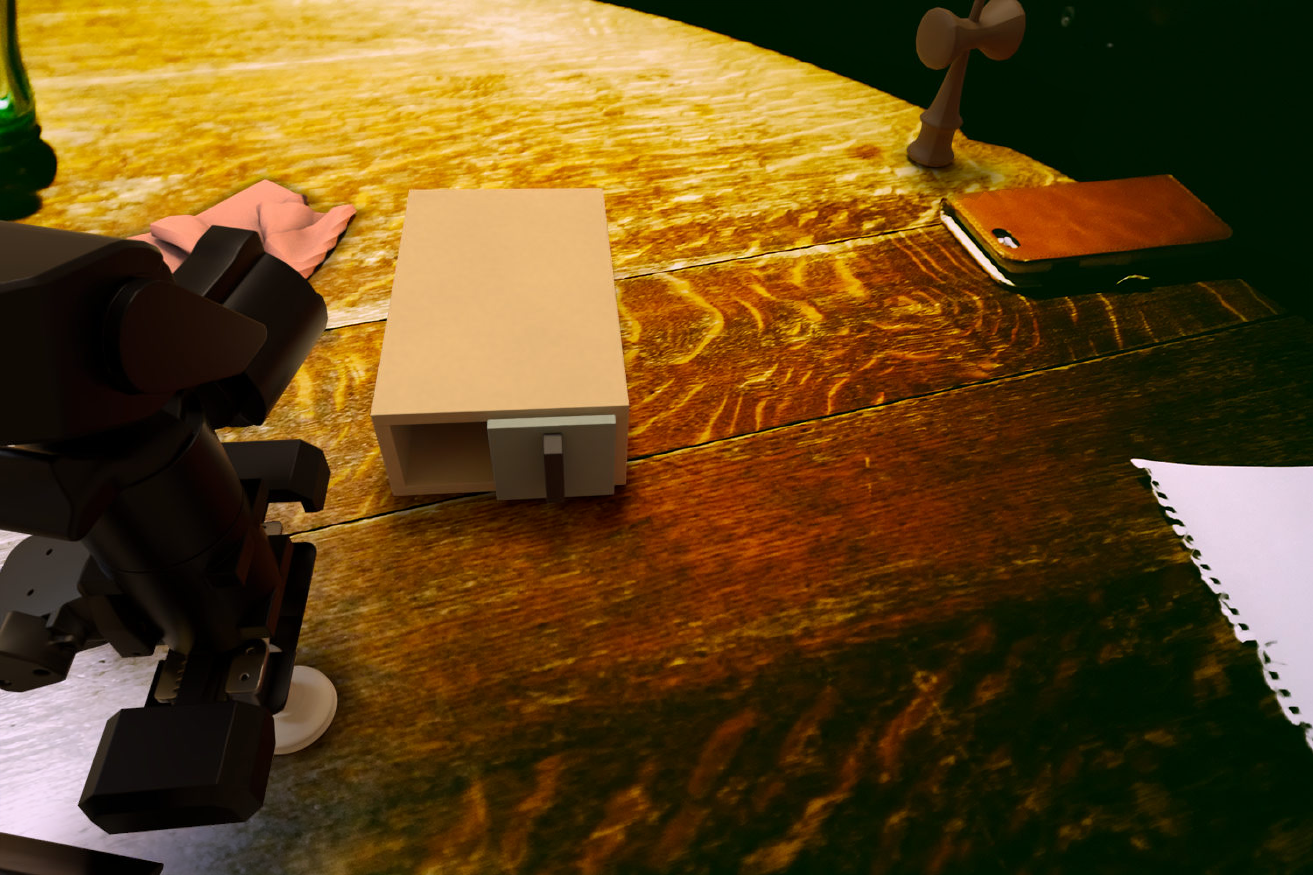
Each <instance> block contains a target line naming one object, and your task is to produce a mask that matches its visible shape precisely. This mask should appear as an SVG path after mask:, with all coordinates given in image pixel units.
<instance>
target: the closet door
mask: <svg viewBox="0 0 1313 875" xmlns="http://www.w3.org/2000/svg"><path fill="white" fill-rule="evenodd" d="M487 431H488V438H489V445H490V453H491V460H492V467H493V474H494V481H495V488H496V491H495V495H496V500H497V501H511V500H512V501H513V500H532V499H545V500H546V504H547V505H552V504H553V505H554V504H555V505H556V504H557V505H558V504H565V503H566V498H570V497H572V498H573V497H589V496H590V497H593V496H610V495H611V496H613V495H615V485H614V479H615V444H616V418H615V415H593V416H567V417H542V418H517V419H491V420H488V421H487Z"/></svg>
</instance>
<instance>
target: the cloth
mask: <svg viewBox="0 0 1313 875" xmlns="http://www.w3.org/2000/svg"><path fill="white" fill-rule="evenodd" d="M308 200H309V198H308V195H306V194H303V193H296V192H294V191H292V190H290V189H288V188H286V187H283V186H281V185H280V184H277V183H275V182H273V181H270V180H268V179H266V178H264V179H263V180H260V181H258V182H257V183H254V184H252V185H251V186H249V187H247V188H245V189H243V190H242V191H240V192H237V193H236V194H234V195H232V196H230V197H228V198H226V199H225V200H223V201H221V202H219V203H217V204H215V205H214V206H212V207H209V208H208V209H206V210H204V211H202V212H200V213H199V214H197V215H195V216H194V215H191V214H180V215H169V216H166V217H162V218H160V219H158V220H156V221H154V222H151V223H149V228H150V232H147V233H143V234H138V235H133V236H128V237H126V238H127V239H134V240H141V241H145V242H148V243H150V244H152V245H155V246H157V247H158V248H159V249H160V251H161V253H162V254H163V258H164V259H163V260H164V261H165V262H166V264H167V265H168V266H169V267H170V270H171V272H172V273H173V272H174V271H175V270H176V269H177V268H178V267H179V266H180V265H181V264H182V263H183V262H184V260H185V259H186V258H187V257H188V256H189V255H190V253H191V252H192V250H193V248H194V246H195V244H196V243H197V241H198V240H199V239H200V237H201V236H202V235H203V234H204V233H205V232H206V231H207V230H208V229H209V228H210V227H211V226H212V225H218V226H226V227H233V228H240V229H247V230H254V231H257V232H258V233H259V235H260V238H261V241H262V244H263V247H264V249H265V252H267V253H269V254H271V255H273V256H275V257H277V258H279V259H280V260H282V261H284V262H286V263H287V264H288V265H290V266H291V267H292V268H294V269H295V270H296V271H298V272H299V273H300V274H301V275H302V276H303V277H304V278H305V279H306V280H307V279H308V278H309V277H310V276H312V275H313V273H314V271H315V269H316V267H317V266H318V265H320V264H321V263H323V262H325V259H326V257H327V253H328V252H330V251H331V250H332V249H333V248H335V247H336V246H337V243H338V239H339V236H340V235H341V234H343V232H344V231H346V230H347V227H348V222H349V221H350V219H351V217H353V215H355V214H356V213H357V212H358V211H357V210H356V208H355V206H354V204H353V203H351V204H342V205H336V206H333V207H332V208H331V209H330V210H328V211H327V212H324V213H323V212H318V211H314V210H313V209H312V208H311V207H310V206H308Z"/></svg>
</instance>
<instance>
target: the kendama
mask: <svg viewBox="0 0 1313 875" xmlns="http://www.w3.org/2000/svg"><path fill="white" fill-rule="evenodd" d="M985 2H986V0H974V2H973V3H972V6H971V10H970V13H969V16H968V17H967V18H960V17H959V16H957V15H956V14H954V13H953V12H952V11H950V9H947V8H942V7H939V6H938V7H934V8H931V9H928V10H927V12H926V13H925V14H924V15H923V17H922V18H921V20H920V23H919V24H918V28H917V32H916V37H915V46H916V53H917V55H918V58H919V60H920V62H922V64H923V65H924V66H926V68H930V69H932V70H936V71H937V70H943V69H945V68H947V67H948V66H949V68H948V70H947V73H946V75H945V77H944V80H943V81H942V83H941V86H940V88H939V89H938V92H937V93H936V95H935V98H934V99H933V101H932V103H931V104H930V106H929V107H928V108H927V109H925V110H923V112H921V113H920V114H919V120H920V123H921V127H920V131H919V133H918V136H917V137H916V139H915V140H913V141H912V142H910V144H909V145H908V146H907V147H906V153H907V155H908V157H909V158H910V159H911V160H912V161H913V162H916V163H917V164H919V165H922V166H925V167H932V168H939V167H944V166H947V165H949V164H950V163H952V162H953V161H954V159H955V153H954V149H953V142H954V141H953V140H954V138H955V133H956V131H958V130H959V129H960V127H961V126H962V125H963V124H964V121H963V117H962V116H960V105H961V97H962V92H963V85H964V80H965V76H966V70H967V68H968V67H967V66H968V62H969V58H970V54H971V50H974V49H977V50H978V51H980V52H981V53H983V55H984V56H986V57H987V58H988V59H991V60H993V61H997V62H1000V61H1004V60H1008V59H1010V58H1011V57H1012V56H1013V55H1014V54H1015V53H1016V52H1017V51H1018V49H1019V47H1020V45H1021V43H1022V41H1023V39H1024V35H1025V31H1026V12H1025V11H1024V8H1023V6H1022V4H1021V3H1020V2H1019V1H1018V0H989V1H988V2H987V3H986V4H985Z"/></svg>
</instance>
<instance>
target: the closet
mask: <svg viewBox="0 0 1313 875" xmlns="http://www.w3.org/2000/svg"><path fill="white" fill-rule="evenodd" d="M406 201H407V202H406V207H405V211H404V212H405V213H404V218H403V224H402V230H401V236H400V242H399V247H398V253H397V257H396V258H397V259H396V265H395V270H394V276H393V281H392V288H391V294H390V299H389V305H388V310H387V317H386V322H385V329H384V332H383V333H384V334H383V340H382V346H381V352H380V355H379V356H380V357H379V362H378V368H377V375H376V380H375V386H374V391H373V398H372V403H371V409H370V418H371V423H372V426H373V430H374V433H375V436H376V440H377V443H378V447H379V451H380V454H381V457H382V461H383V464H384V468H385V471H386V475H387V478H388V483H389V485H390V486H389V487H390V489H391V493H392V495H393V497H401V496H402V497H403V496H422V495H423V496H425V495H443V494H445V495H446V494H461V493H462V494H464V493H466V494H467V493H481V492H482V493H483V492H486V493H487V492H496V488H495V481H494V474H493V467H492V460H491V453H490V445H489V438H488V431H487V421H488V420H491V419H517V418H542V417H567V416H593V415H615V418H616V444H615V479H614V486H625V485H627V468H628V467H627V466H628V445H629V444H628V443H629V424H630V423H629V422H630V420H629V419H630V400H629V391H628V383H627V376H626V367H625V365H626V364H625V359H624V349H623V341H622V333H621V324H620V317H619V309H618V300H617V294H616V284H615V276H614V268H613V261H612V252H611V251H612V250H611V244H610V236H609V235H610V234H609V227H608V219H607V218H608V217H607V209H606V203H605V202H606V201H605V193H604V188H603V187H598V188H597V187H586V188H585V187H581V188H580V187H575V188H574V187H573V188H571V187H570V188H561V187H560V188H559V187H558V188H557V187H555V188H451V189H450V188H448V189H447V188H443V189H442V188H441V189H439V188H438V189H437V188H436V189H435V188H434V189H433V188H431V189H430V188H429V189H409V190H408V196H407V200H406Z"/></svg>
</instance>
